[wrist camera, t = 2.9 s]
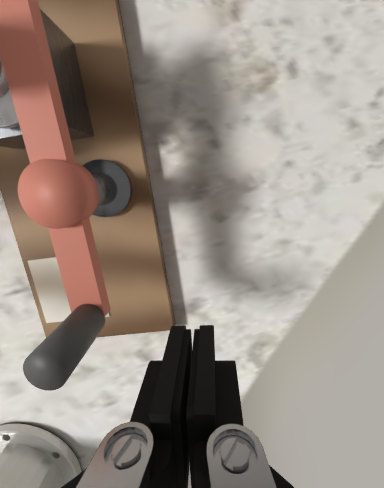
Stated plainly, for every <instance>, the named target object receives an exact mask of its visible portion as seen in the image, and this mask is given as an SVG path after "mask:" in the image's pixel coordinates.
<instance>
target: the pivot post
mask: <svg viewBox="0 0 384 488" xmlns="http://www.w3.org/2000/svg"><path fill="white" fill-rule="evenodd" d="M83 167H85V168H86V169H87V170H88V171H89V172H90V173H91V174H92V176H93V177H94V179H95V181H96V183H97V186H98V190H99V201H98V205H97V208H96V210H95V212H94V213H93V214H92V215H95V216H98V217H111V216H114V215H117V214H119V213H120V212H122V211H123V210H124V209H125V208H126V207H127V205H128V204H129V202H130V199H131V195H132V186H131V181H130V179H129V177H128V175H127V173H126V172H125V170H124V169H123V168H122V167H120V166H119V165H118V164H116V163H114V162H112V161H109V160H103V159H97V160H92V161H89V162H87V163H86V164H84V165H83Z"/></svg>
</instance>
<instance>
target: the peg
mask: <svg viewBox="0 0 384 488" xmlns="http://www.w3.org/2000/svg"><path fill="white" fill-rule="evenodd" d="M18 126H20V125H19V122H18V118H17V114H16V111H15V107H14V103H13V100H12V96H11V93H10V89H9V85H8V82H7V78H6V74H5V71H4V67H3V64H2V60H1V56H0V128H5V129H7V128H14V127H18Z"/></svg>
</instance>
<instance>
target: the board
mask: <svg viewBox="0 0 384 488" xmlns="http://www.w3.org/2000/svg"><path fill="white" fill-rule="evenodd" d="M38 3H39V8H40V9H41V10H42V11H43V12H44V13H45V14H46V15H47V16H48V17H49V18H50V19H51V20H52V21H53V22H54V23H55V24H56V25H57V26H58V27H59V28H60V29H61V30H62V31H63V32H64V33H65V34H66V35H67V36H68V37H69V38H70V39H71V40H72V41H73V42H74V44H75V49H76V53H77V58H78V63H79V67H80V72H81V76H82V81H83V86H84V90H85V95H86V100H87V104H88V109H89V114H90V118H91V123H92V127H93V132H94V137H89V138H83V139H77V140H71V143H72V147H73V151H74V156H75V160H76V163H78V164H80V165H82V166H83V165H84V164H86V163H87V162H89V161H92V160H97V159H103V160H109V161H112V162H114V163H116V164H118V165H119V166H120V167H122V168H123V169H124V170H125V172H126V173H127V175H128V177H129V179H130V181H131V186H132V195H131V199H130V202H129V204H128V205H127V207H126V208H125V209H124V210H123V211H122V212H120V213H119V214H117V215H114V216H111V217H98V216H95V215H91V216H90V217H89V219H90V223H91V228H92V232H93V236H94V240H95V245H96V249H97V253H98V257H99V261H100V266H101V270H102V274H103V278H104V283H105V287H106V291H107V295H108V300H109V304H110V308H111V309H110V311H109V312H108V313H107V315H106V316H105V325H104V327H103V328H102V330H101V331H100V333H99V334H98V336H97V337H105V336H115V335H125V334H136V333H146V332H156V331H166V330H170V329H171V326H175V321H174V315H173V309H172V304H171V298H170V292H169V287H168V281H167V275H166V270H165V264H164V258H163V252H162V247H161V241H160V235H159V230H158V224H157V218H156V213H155V207H154V201H153V195H152V190H151V184H150V178H149V173H148V167H147V161H146V156H145V150H144V144H143V138H142V133H141V127H140V121H139V116H138V110H137V104H136V99H135V93H134V87H133V81H132V76H131V70H130V64H129V59H128V53H127V47H126V42H125V36H124V30H123V24H122V19H121V13H120V7H119V2H118V0H38ZM29 164H30V161H29V158H28V154H27V150H26V148H22V149H13V148H7V147H0V189H1V192H2V196H3V199H4V202H5V205H6V209H7V212H8V215H9V218H10V222H11V225H12V228H13V231H14V235H15V238H16V241H17V244H18V248H19V251H20V254H21V257H22V260H23V264H24V267H25V270H26V273H27V277H28V280H29V283H30V286H31V290H32V293H33V296H34V299H35V303H36V306H37V309H38V312H39V316H40V319H41V322H42V325H43V329H44V332H45V335H46V338H47V337H48V336H49V335H50V334H51V333H52V332H53V331H54V330H55V329H56V328H57V327H58V326H59V325H60V324H61V323H62V322H63V321H64V320H65V319H66V318H67V317H68V316H69V315H70V314H71V310H70V306H69V303H68V299H67V295H66V292H65V288H64V284H63V281H62V277H61V274H60V270H59V266H58V263H57V259H56V255H55V252H54V248H53V245H52V241H51V237H50V234H49V230H48V228H47V227H44V226H42V225H39V224H38V223H36V222H35V221H33V220H32V219H31V218H30V217H29V216H28V215H27V214H26V212H25V211H24V209H23V207H22V205H21V203H20V200H19V196H18V182H19V178H20V176H21V173H22V172H23V170H24V169H25V168H26V167H27V166H28V165H29Z"/></svg>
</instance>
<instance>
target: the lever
mask: <svg viewBox="0 0 384 488" xmlns="http://www.w3.org/2000/svg"><path fill="white" fill-rule="evenodd" d="M0 56H1V60H2V64H3V67H4V71H5V74H6V78H7V82H8V85H9V89H10V93H11V96H12V100H13V103H14V107H15V111H16V114H17V118H18V122H19V125H20V129H21V132H22V136H23V140H24V143H25V147H26V150H27V154H28V158H29V161H30V164H29V165H28V166H27V167H26V168H25V169H24V170H23V172H22V173H21V176H20V178H19V182H18V196H19V200H20V203H21V205H22V207H23V209H24V211H25V212H26V214H27V215H28V216H29V217H30V218H31V219H32V220H33V221H35V222H36V223H38V224H39V225H42V226H44V227H47V228H48V230H49V234H50V237H51V241H52V245H53V248H54V252H55V255H56V259H57V263H58V266H59V270H60V274H61V277H62V281H63V284H64V288H65V292H66V295H67V299H68V303H69V306H70V310H71V314H70V315H69V316H68V317H67V318H66V319H65V320H64V321H63V322H62V323H61V324H60V325H59V326H58V327H57V328H56V329H55V330H54V331H53V332H52V333H51V334H50V335H49V336H48V337H47V338H46V339H45V340H44V341H43V342H42V343H41V344H40V345H39V346H38V347H37V348H36V349H35V350H34V351H33V352H32V353H31V354H30V355H29V356H28V357H27V358H26V360H25V361H24V364H23V371H24V374H25V376H26V378H27V380H28V381H29V382H30V383H31V384H32V385H34V386H35V387H37V388H40V389H43V390H56V389H58V388H60V387H62V386H63V385H64V384H65V382H66V381H67V379H68V378H69V376H70V375H71V374H72V372H73V371H74V369H75V368H76V366H77V365H78V363H79V362H80V360H81V359H82V358H83V356H84V355H85V353H86V352H87V350H88V349H89V347H90V346H91V344H92V343H93V342H94V340H95V339H96V337H97V336H98V334H99V333H100V331H101V330H102V328H103V327H104V325H105V316H106V315H107V313H108V312H109V311H110V309H111V308H110V304H109V300H108V295H107V291H106V287H105V283H104V278H103V274H102V270H101V266H100V261H99V257H98V253H97V249H96V245H95V240H94V236H93V232H92V228H91V223H90V219H89V217H90V216H91V215H92V214H93V213H94V212H95V210H96V208H97V205H98V201H99V190H98V186H97V183H96V181H95V179H94V177H93V176H92V174H91V173H90V172H89V171H88V170H87V169H86V168H85V167H83V166H82V165H80V164H78V163H76V160H75V156H74V151H73V147H72V143H71V139H70V135H69V130H68V126H67V122H66V118H65V113H64V109H63V105H62V101H61V96H60V92H59V88H58V84H57V80H56V75H55V71H54V67H53V63H52V58H51V54H50V50H49V46H48V41H47V37H46V33H45V29H44V25H43V20H42V16H41V12H40V8H39V3H38V0H0Z"/></svg>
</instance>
